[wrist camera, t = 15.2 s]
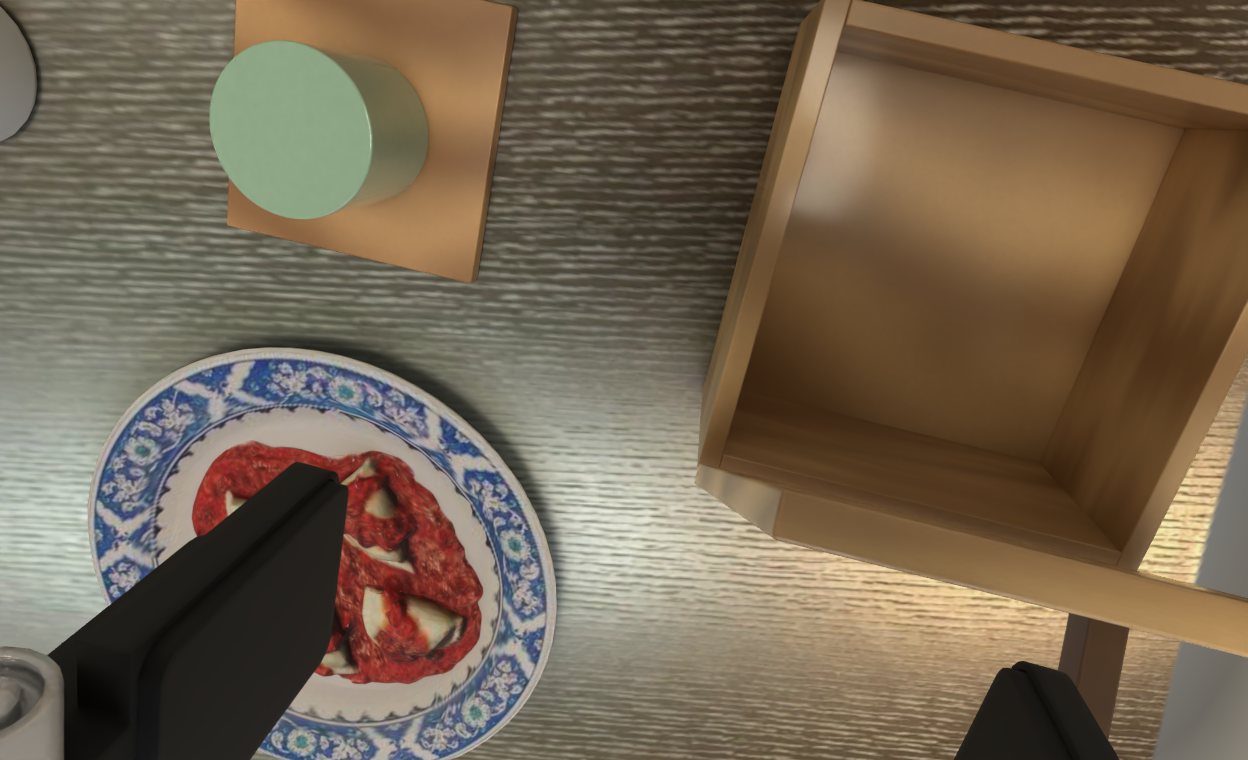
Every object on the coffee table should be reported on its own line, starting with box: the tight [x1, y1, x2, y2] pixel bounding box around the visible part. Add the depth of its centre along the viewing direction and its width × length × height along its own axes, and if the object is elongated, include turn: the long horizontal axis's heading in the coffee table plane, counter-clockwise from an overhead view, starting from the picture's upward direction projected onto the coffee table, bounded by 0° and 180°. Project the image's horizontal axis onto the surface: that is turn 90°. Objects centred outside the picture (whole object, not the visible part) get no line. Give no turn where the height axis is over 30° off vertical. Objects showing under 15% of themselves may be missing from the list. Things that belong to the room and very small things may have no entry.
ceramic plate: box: [88, 347, 557, 760], centre depth 42 cm, size 26×26×3 cm
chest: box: [697, 0, 1248, 570], centre depth 31 cm, size 17×17×9 cm
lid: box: [695, 464, 1248, 760], centre depth 20 cm, size 17×17×5 cm
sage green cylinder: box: [209, 40, 429, 220], centre depth 32 cm, size 6×6×6 cm
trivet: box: [227, 0, 518, 283], centre depth 35 cm, size 12×12×1 cm
